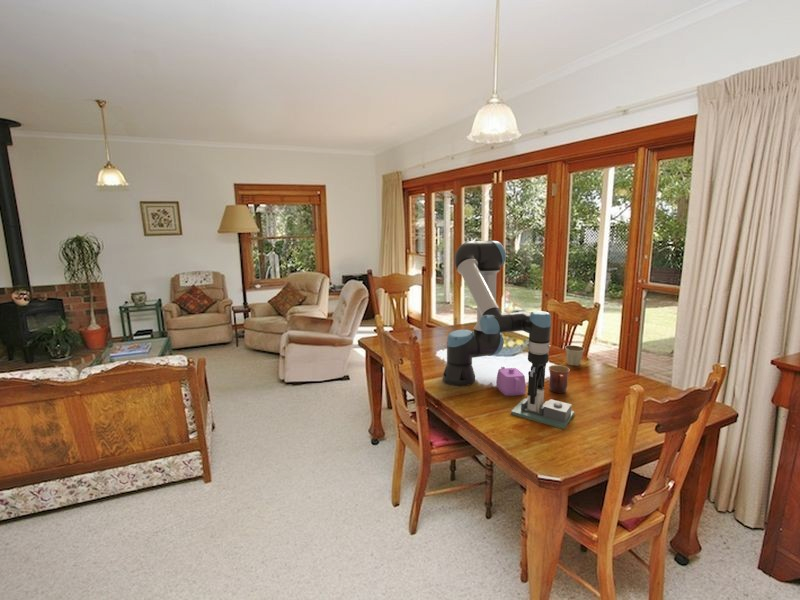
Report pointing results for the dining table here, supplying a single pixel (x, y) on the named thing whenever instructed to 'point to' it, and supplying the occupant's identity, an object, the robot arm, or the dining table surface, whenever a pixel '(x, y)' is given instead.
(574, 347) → the flower pot
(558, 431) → the dining table surface
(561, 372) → the mug
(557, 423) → the board
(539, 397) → the light grey block
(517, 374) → the teapot
